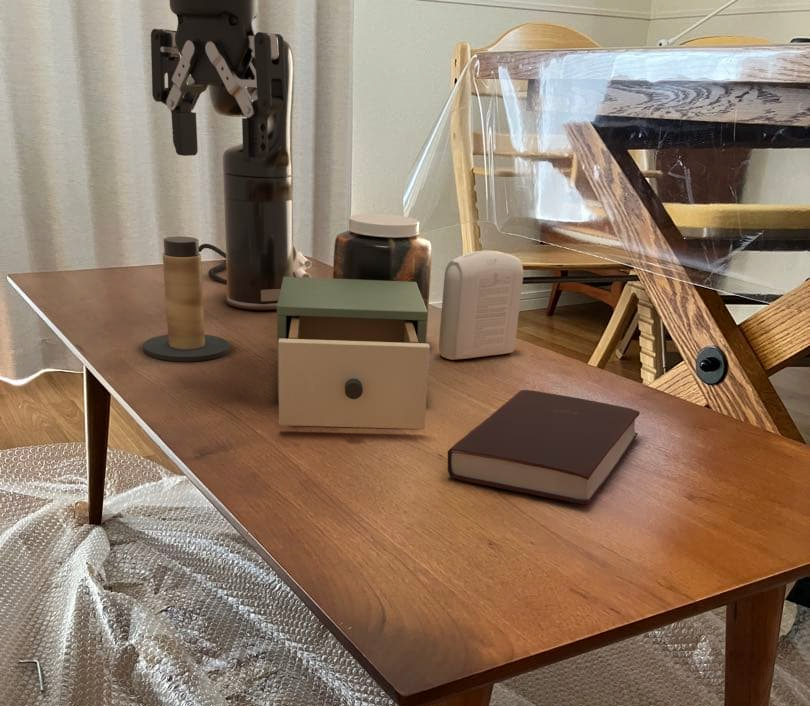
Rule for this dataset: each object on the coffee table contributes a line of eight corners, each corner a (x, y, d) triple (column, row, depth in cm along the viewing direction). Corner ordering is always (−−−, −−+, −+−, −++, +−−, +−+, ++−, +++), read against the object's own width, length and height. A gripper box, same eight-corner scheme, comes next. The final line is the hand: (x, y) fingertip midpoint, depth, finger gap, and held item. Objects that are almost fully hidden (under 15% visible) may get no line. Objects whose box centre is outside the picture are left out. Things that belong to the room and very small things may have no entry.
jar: (332, 356, 109) (335, 224, 102) (330, 330, 119) (332, 209, 112) (430, 359, 110) (440, 229, 103) (420, 333, 120) (428, 213, 113)
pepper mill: (171, 339, 109) (164, 235, 104) (207, 340, 110) (202, 236, 104) (166, 349, 106) (158, 241, 100) (202, 350, 106) (197, 243, 100)
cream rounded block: (498, 345, 117) (508, 245, 111) (519, 354, 114) (531, 252, 108) (432, 354, 112) (439, 250, 106) (453, 363, 109) (461, 257, 103)
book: (443, 478, 78) (446, 443, 77) (516, 413, 94) (520, 383, 93) (585, 512, 74) (591, 475, 72) (637, 438, 90) (643, 407, 88)
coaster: (151, 336, 112) (150, 331, 112) (233, 339, 113) (233, 334, 113) (135, 360, 103) (135, 355, 103) (225, 363, 104) (225, 358, 104)
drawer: (425, 434, 85) (431, 350, 81) (278, 430, 84) (277, 345, 80) (413, 387, 97) (418, 312, 93) (285, 383, 96) (284, 307, 92)
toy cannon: (278, 276, 155) (300, 253, 154) (297, 295, 143) (321, 270, 143) (244, 241, 150) (267, 218, 150) (261, 258, 139) (286, 233, 138)
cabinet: (421, 406, 95) (427, 311, 90) (277, 402, 93) (276, 306, 89) (411, 366, 107) (416, 281, 102) (284, 362, 105) (283, 276, 101)
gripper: (305, -43, 77) (305, 165, 84) (184, -41, 84) (194, 151, 91) (244, -55, 71) (249, 168, 79) (120, -52, 78) (135, 153, 85)
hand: (219, 159), depth 85 cm, fingers open, 8 cm apart
